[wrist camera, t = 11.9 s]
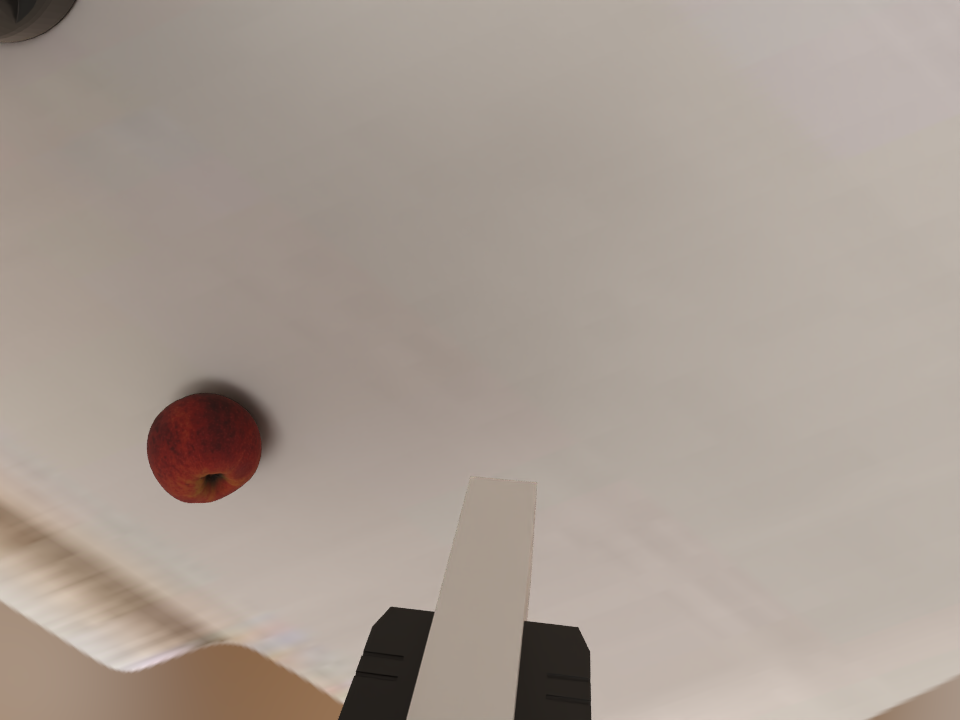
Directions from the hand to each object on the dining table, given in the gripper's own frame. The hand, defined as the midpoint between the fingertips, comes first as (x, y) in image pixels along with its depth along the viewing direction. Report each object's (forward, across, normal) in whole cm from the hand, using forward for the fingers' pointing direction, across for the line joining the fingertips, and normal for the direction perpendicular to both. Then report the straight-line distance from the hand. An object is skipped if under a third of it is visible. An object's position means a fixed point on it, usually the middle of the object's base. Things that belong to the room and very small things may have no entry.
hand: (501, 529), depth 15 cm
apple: (+30, -24, -16) cm, 41 cm away
